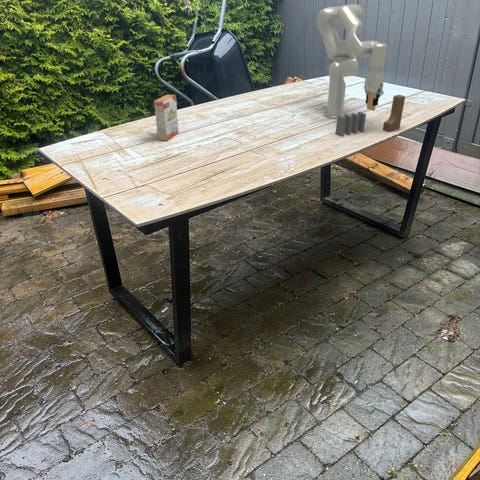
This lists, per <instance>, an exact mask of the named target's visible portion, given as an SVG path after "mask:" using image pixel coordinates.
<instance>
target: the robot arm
mask: <svg viewBox="0 0 480 480" xmlns="http://www.w3.org/2000/svg"><path fill="white" fill-rule="evenodd" d="M363 12H364V11H363V8H362V6H361V5H359V4H355V3H353V4H351V3H350V4H344V5H341V6H339V5H338V6H329V7H324V8H322V9H321V10H320V11H319V13H318V15H317V19H316V20H317V27H318V30H319V32H320V35H321V37H322V40H323V45H324V47H325V50H326V51H325V52H326V54H327V57H328V58H329V59H330V60H333V61H332V62H331V63H330V64H329V66H328V75H329V85H328V95H327V97H328V98H327V105H326V106H324V109H325V111H324V113H323V115H324V117H325V118H329V119H337V116H338V115H341V116H343V117H344V114H346V113H345V112H344V106H345V97H346V89H347V85H346V81H345V79H344V78H346V77H352V76H353V77H354V76H355V75H357V73H358V71H359V62H358V58H364V57H365V58H366V57H369V64H368V65H369V66H368V70H367V73H366V75H365V79H364V85H363V90H364V92H365V104H367V102H368V93H369V92H372V93H374V98H373V104H372V106H375V107H376V106H378V104H379V99H380V97H382V95H384V80H385V79H384V78H385V73H384V71H385V63H386V56H387V51H388V45H387V43H384V42H379V41H376V40H363V41H360V39H359V38H358V36H357V35H358V34H360V32H361V30H362V29H363V23H362V21H361V19H362V17H363ZM332 24H341V26H342V27H343V29H344V30H345V32H346V33H347V37H346V39H344V40H342V39H340V37H339V33H338V31H337V29H336V28H335V27H334V26H333V25H332ZM376 93H377V95H376Z"/></svg>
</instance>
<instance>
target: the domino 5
mask: <svg viewBox="0 0 480 480" xmlns="http://www.w3.org/2000/svg"><path fill="white" fill-rule="evenodd" d="M376 95H377V93H376ZM373 98H374V93H372V92H369V93H368V102H367V103H366V110H370V111H373V112H374V111H375V110H376V106H372V104H373Z"/></svg>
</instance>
